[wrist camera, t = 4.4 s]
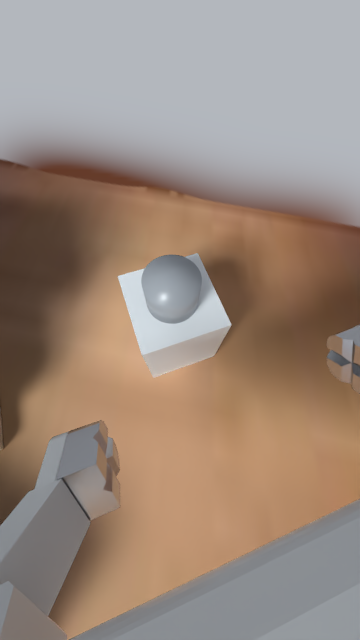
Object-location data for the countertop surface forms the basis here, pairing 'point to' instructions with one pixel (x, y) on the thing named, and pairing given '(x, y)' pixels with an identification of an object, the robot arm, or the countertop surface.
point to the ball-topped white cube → (174, 312)
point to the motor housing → (0, 436)
